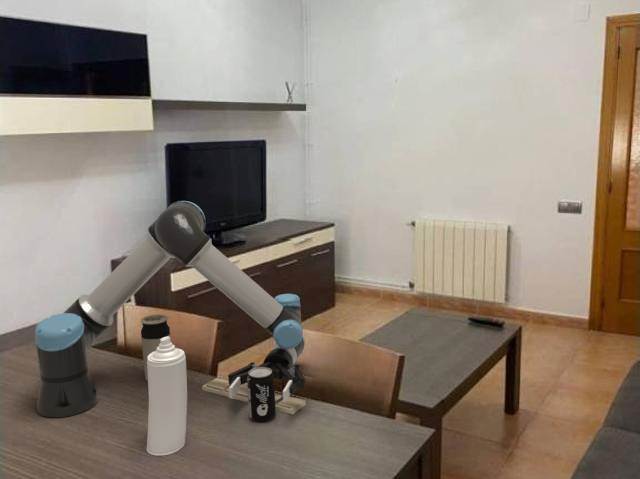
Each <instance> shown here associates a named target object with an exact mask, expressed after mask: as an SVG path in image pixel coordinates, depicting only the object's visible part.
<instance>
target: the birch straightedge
mask: <svg viewBox="0 0 640 479" xmlns="http://www.w3.org/2000/svg"><path fill="white" fill-rule="evenodd" d="M201 387H202V388H201V389H202V391H204V392H208V393H210V394H211V393H212V394H214V395H219V396H223V397H227V398H229V387H230V384H229V380H227V379H222V378H218V377H216V378H214V379H213V380H211V381H209V382H207V383H205V384H203V385H202V386H201ZM232 399H233V400H238V401H242V402H245V403H248V404H249V402H248V385H247V384H242V385H241V388H240V389H239V390H238V392H237V393H236V394H235V396H234V397H233V398H232ZM306 404H307V403H306V399H301V398H296V397H292V396H291V395H290V396H289V398H288V400H287V401H286V402H283V393H277V392H275V409H276V411H278V412H282V413H286V414H290V415H294V414H295V413H297V412H299V410H301V409H302V408H304V407H306Z"/></svg>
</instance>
